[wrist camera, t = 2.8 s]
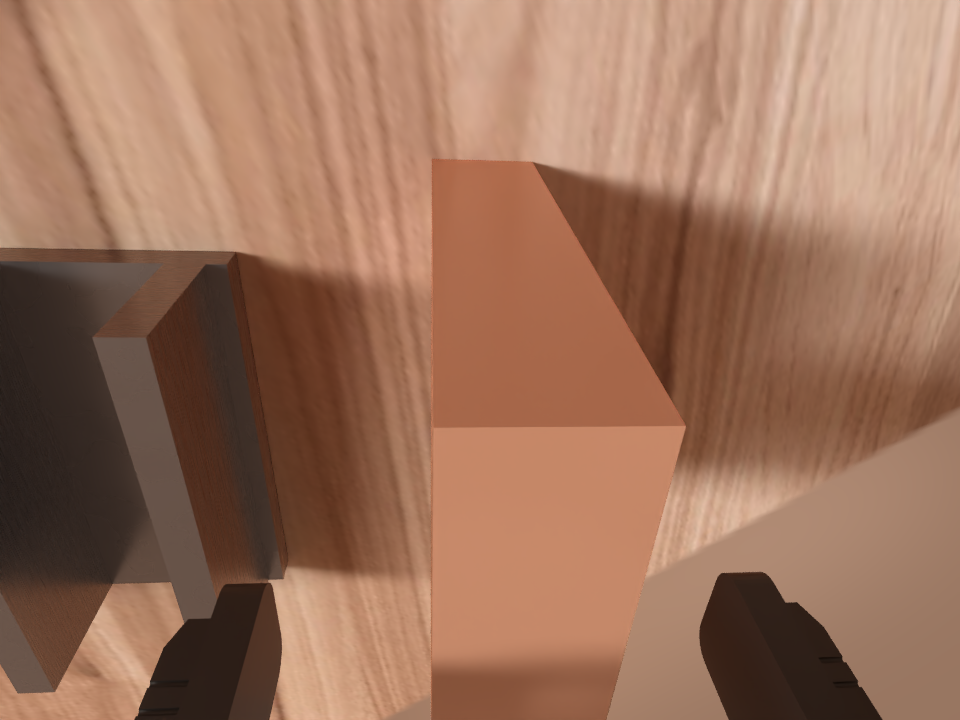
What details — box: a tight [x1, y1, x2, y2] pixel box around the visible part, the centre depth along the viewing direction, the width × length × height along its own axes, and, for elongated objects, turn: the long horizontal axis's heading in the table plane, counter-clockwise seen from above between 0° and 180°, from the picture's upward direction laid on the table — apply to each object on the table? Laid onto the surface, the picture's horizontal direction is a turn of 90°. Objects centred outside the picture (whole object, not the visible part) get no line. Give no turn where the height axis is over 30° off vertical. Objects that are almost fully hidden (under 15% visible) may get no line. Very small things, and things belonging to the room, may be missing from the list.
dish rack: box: [0, 248, 288, 693], centre depth 20 cm, size 14×15×6 cm
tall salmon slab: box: [431, 159, 686, 720], centre depth 15 cm, size 10×3×13 cm, turn 177°
